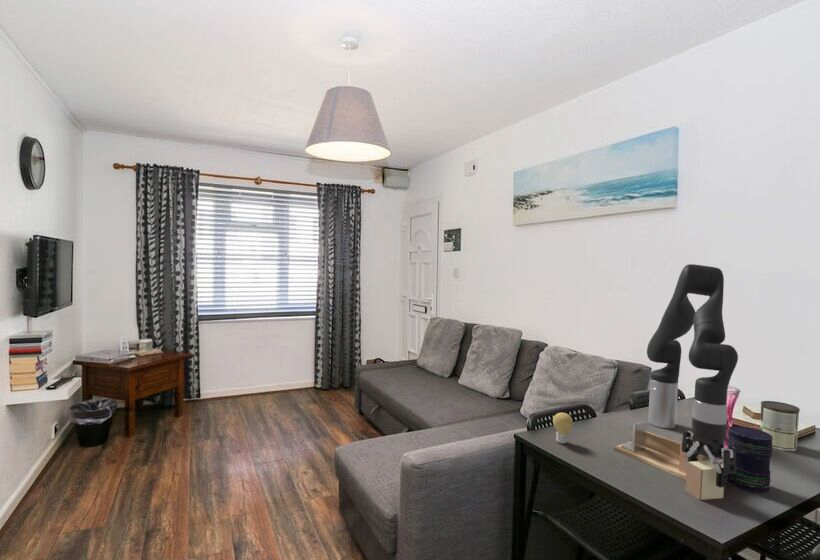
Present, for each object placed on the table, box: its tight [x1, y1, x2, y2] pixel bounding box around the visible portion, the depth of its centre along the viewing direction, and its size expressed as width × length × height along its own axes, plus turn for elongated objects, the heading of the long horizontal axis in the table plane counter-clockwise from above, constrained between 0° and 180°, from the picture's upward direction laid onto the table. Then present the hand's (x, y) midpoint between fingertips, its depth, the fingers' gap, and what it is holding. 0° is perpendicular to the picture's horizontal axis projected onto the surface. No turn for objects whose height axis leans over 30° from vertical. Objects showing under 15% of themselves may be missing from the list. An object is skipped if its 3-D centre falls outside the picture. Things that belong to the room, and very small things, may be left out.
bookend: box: [620, 420, 649, 452], centre depth 141 cm, size 7×4×9 cm, turn 121°
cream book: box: [684, 461, 725, 501], centre depth 114 cm, size 7×4×8 cm, turn 101°
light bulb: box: [552, 412, 574, 444], centre depth 146 cm, size 6×6×10 cm
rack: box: [613, 426, 711, 481], centre depth 133 cm, size 10×25×10 cm, turn 31°
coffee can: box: [759, 400, 801, 452], centre depth 150 cm, size 10×10×14 cm
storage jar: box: [726, 425, 773, 495], centre depth 120 cm, size 10×10×15 cm
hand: (706, 478), depth 114 cm, fingers open, 8 cm apart
